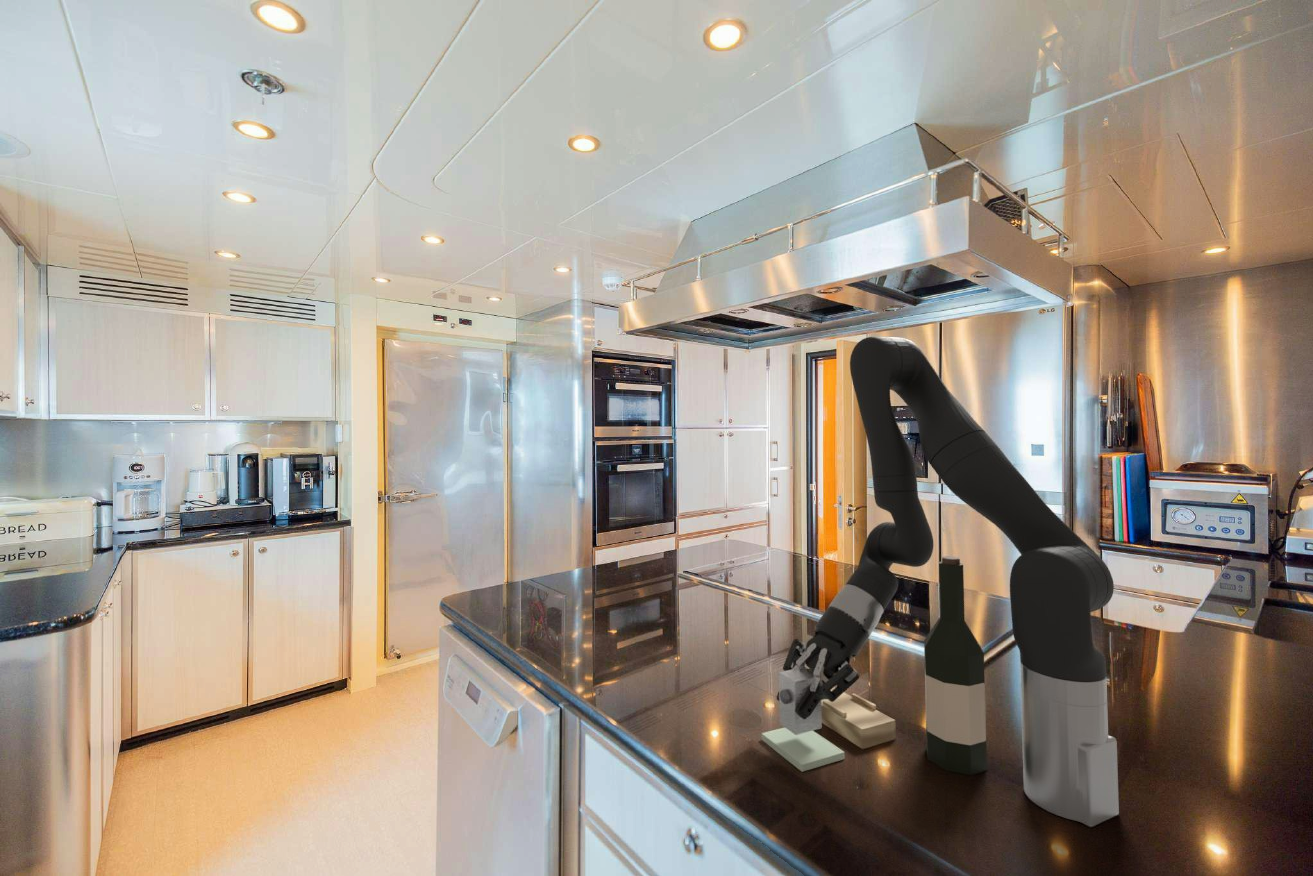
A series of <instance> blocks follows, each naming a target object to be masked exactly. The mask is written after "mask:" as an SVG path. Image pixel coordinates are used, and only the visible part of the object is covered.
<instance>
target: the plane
mask: <svg viewBox="0 0 1313 876" xmlns="http://www.w3.org/2000/svg"><path fill="white" fill-rule="evenodd" d="M835 688H836V686H834V687H833V688H832V689H831V691H833V690H834V689H835ZM821 705H822V725H824V726H826V727H828V728H829V729H830V730H832V731H834V732H836V733H837V734H838V735H840V736H841V737H843V738H845V739H847V740H848V741H849V742H851V743H853V744H854V745H856V746H857V747H859V748H860V749H861V750H864V749H868V748H871V747H873V746H877V745H881V744H884V743H888V742H891V741H895V740H896V739H897V737H896V735H897V732H896V731H897V730H896V719H894V718H892V717H890V716H888V715H886V714H885V713H883V712H882V711H880V710H877V705H876V704H875V703H873V702H872V701H869V700H867V699H866V698H864V697H862V696H860V695H858V694H856V693H855V692H854V693H851V695H850V694H848V693H846V692H844V693H842V694H841V695H840V696H839V697H838V698H837V699H836V700H835V701H833V702H830V701H829V700H828V699H824V700H821Z"/></svg>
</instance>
